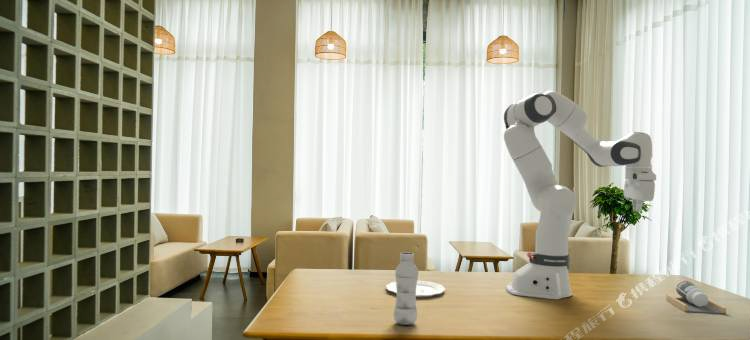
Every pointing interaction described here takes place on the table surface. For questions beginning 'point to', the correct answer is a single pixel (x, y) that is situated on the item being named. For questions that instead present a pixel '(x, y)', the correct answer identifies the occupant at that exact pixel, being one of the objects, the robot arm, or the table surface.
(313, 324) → the table surface
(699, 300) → the pill bottle
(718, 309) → the wooden tray
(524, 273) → the robot arm
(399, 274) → the plastic bottle
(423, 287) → the plate
